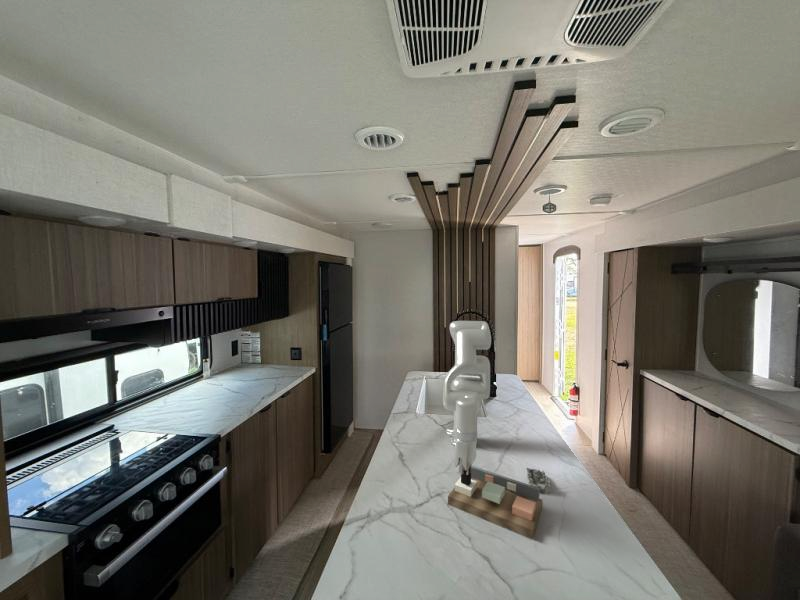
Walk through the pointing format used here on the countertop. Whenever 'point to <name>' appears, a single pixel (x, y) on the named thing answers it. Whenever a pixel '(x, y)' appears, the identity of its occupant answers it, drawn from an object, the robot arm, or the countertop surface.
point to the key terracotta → (524, 508)
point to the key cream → (466, 487)
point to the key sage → (493, 492)
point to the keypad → (502, 511)
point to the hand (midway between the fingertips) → (465, 483)
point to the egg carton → (538, 479)
